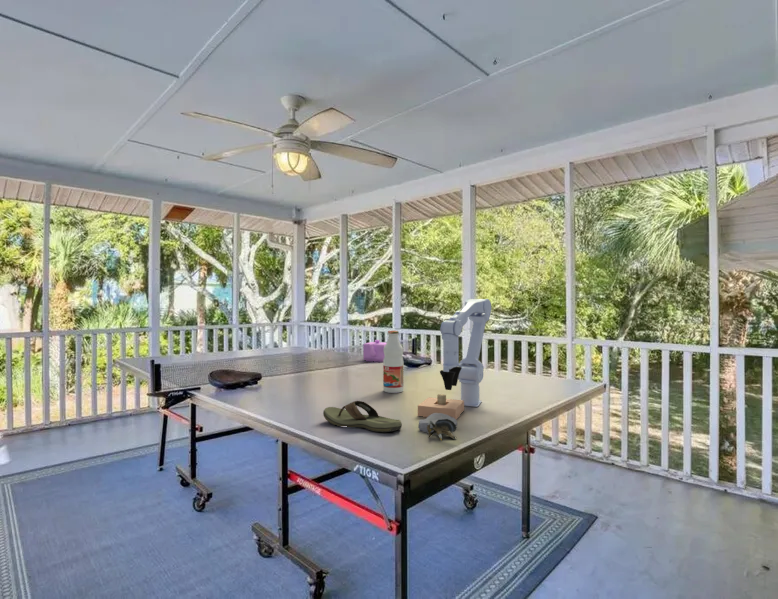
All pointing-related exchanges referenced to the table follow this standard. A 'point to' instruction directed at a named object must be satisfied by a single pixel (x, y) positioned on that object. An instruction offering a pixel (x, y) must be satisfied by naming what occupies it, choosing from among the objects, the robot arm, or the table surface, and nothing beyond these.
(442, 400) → the peg
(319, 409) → the table surface
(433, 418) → the stone block
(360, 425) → the flip flop
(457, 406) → the socket
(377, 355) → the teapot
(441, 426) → the eagle figurine
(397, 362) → the fruit juice
